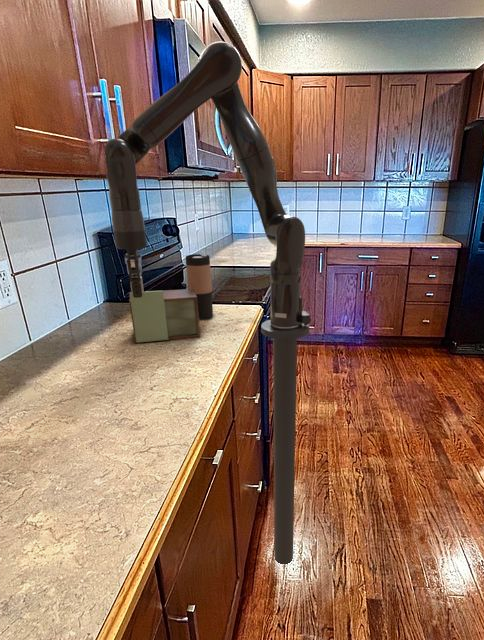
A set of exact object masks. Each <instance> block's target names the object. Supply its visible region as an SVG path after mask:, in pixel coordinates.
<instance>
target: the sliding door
mask: <svg viewBox="0 0 484 640" xmlns="http://www.w3.org/2000/svg"><path fill="white" fill-rule="evenodd" d="M132 278H133V277H132ZM140 279H141V290H142V297H139V298H134V297H133V291H132V283H130V282H129V285H130V292H129V300H131V307H132V314H133V321H134V328H135V335H136V342H141V343H148V342H147V341H152V342H158V341H157V340H162V341H169V340H168V331H167V322H166V313H165V304H164V295H163V291H164V290H148V291H144V283H143V276H142V275H141V276H140Z"/></svg>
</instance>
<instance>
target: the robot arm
mask: <svg viewBox="0 0 484 640" xmlns="http://www.w3.org/2000/svg"><path fill="white" fill-rule="evenodd" d="M242 71H243V62H242V58H241V56H240V52H239V51H238V50H237V48H236V47H234V45H232V44H231V43H229V42H226V41H215V42H212V43H210V44H209V45H207V46H206V48H205V49H203V50H202V52H201V54H200V55H199V57H198V60H197V63H196V64H195V65H194V67H193V68H192V69H191V70H190V71H189V73H188V74H186V75H185V77H183V78H182V79H181V80H180V81H179V82H178V83H177V84H175V85H174V86H173V87H172V88H170V89H169V90H168V91H166V92H165V93H164V94H162V95H161V96H160V97H159V98H157V99H156V100H155V101H153V102H152V103H151V104H150V105H149V106H148V107H146V108H145V109H144V110H143V111H141V113H139V114H138V116H136V117H135V118H134V119H133V120H132V122H131V123H130V124H129V127H127V128H126V129H125V130H124V131H123V132H122V133H120V134H119V135H118V136H117V137H118V138H117V137H116V138H117V139H116V138H111V139H109V140H107V141H106V142H107V143H106V142H105V143H106V146H105V155H106V164H107V169H108V174H107V175H106V174H105V177H106V180H107V185H108V194H109V202H110V209H111V222H112V230H113V231H112V232H113V236H114V243H115V248H116V249H118V250H125V251H126V254H124V263H125V264H126V271H127V274H128V276H129V284H130V283H132V291H133V297H134V298H139V297H142V290H141V279H140V276H142V274H143V271H142V270H143V268H142V262H143V261H142V260H143V259H142V254H140V253H139V251H138V250H142V249H145V248H147V246H148V242H147V234H146V226H145V218H144V215H143V210H142V202H141V195H140V189H139V187H138V179H137V178H138V177H137V167H136V166H137V165H138V164H139V163H140V162H141V160H142V159H144V158H145V156H147V154H148V153H149V152H150V151H152V150H154V148H157V146H159V145H160V144H161V143H162V142H164V141H165V140H166V139H167V138H168V137H169V136H170V135H171V134H172V133H174V131H176V130H177V129H178V128H179V126H181V125H182V124H183V123H184V122H185V121H186V120H187V119H188V118H190V116H191V115H192V114H193V113H194V112H195V111H196V110H198V109H199V108H200V107H201V106H203V105H204V104H205V103H207V102H208V101H209V100H211V102H212V103H213V105H214V107H215V109H216V111H217V113H218V115H219V118H220V120H221V122H222V125H223V128H224V132H225V134H226V136H227V139H228V142H229V144H230V147H231V150H232V152H233V155H234V157H235V159H236V162H237V165H238V168H239V170H240V171H241V174H242V176H243V178H244V180H245V183H246V185H247V187H248V189H249V192H250V195H251V197H252V198H253V201H254V203H255V205H256V208H257V211H258V215H259V217H260V220H261V224H262V227H263V230H264V234H265V236H266V239H267V240H268V241H269V243H271V244H272V245H273V246H275V247H276V250H275V252H276V253H275V258H274V260H272V261H270V265H269V266H270V267H269V275H270V276H269V277H270V280H269V282H270V283H269V284H270V289H269V291H270V320H271V322H270V326H271V327H272V328H274V329H278V330H293V329H297V328H299V327H302V324H304V325H305V326H306V325H308V324H309V325H310V323H311V322H312V318H311V315H310V314H309V312H307V311H305V310H303V300H304V299H303V297H302V296H301V287H302V285H301V283H302V281H301V280H302V265H303V264H304V260H305V248H306V229H305V225H304V222H303V221H302V220H301V219H300V218H299V217H297V216H295V215H289V214H287V213H286V211H285V208H284V207H283V204H282V201H281V199H280V197H279V193H278V192H279V191H278V181H277V180H278V179H277V178H278V177H277V176H278V175H277V167H276V162H275V158H274V157H273V154H272V151H271V148H270V145H269V143H268V141H267V138H266V136H265V134H264V132H263V131H262V129H261V127H260V126H259V125H258V123H257V121H256V120H255V118H254V117H253V115H252V114H251V112H250V110H249V109H248V106H247V104H246V102H245V100H244V98H243V97H244V96H243V94H242V91H241V88H240V84H239V80H240V78H241V75H242ZM132 277H133V278H132ZM132 291H131V292H132Z"/></svg>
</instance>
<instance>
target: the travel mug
mask: <svg viewBox="0 0 484 640" xmlns="http://www.w3.org/2000/svg"><path fill="white" fill-rule="evenodd" d="M185 267H186V268H185V269H186V279H187V281H186V282H187V289H194V292H195V294H196V296H197V303H198V316H199V321H201V320H209V319H212V318H213V317H214V316H213V315H214V307H213V286H212V274H211V273H212V271H211V261H210V255H209V254H206V255H202V254H200V253H194V254H188V255H186V256H185Z"/></svg>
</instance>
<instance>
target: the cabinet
mask: <svg viewBox="0 0 484 640" xmlns="http://www.w3.org/2000/svg"><path fill="white" fill-rule="evenodd" d="M163 295H164V304H165V313H166V322H167V331H168V340H167V341H171V340H172V341H173V340H183V339H192V338H193V339H195V338H200V337H201V331H200V320H199V316H198V303H197V296H196V294H195V292H194V289H188V288H183V289H168V290H167V289H166V290H163ZM128 302H129V309H130V316H131V323H132V329H133V336H134V337H133V338H134V343H135V344H141V343H142V342H136V335H135V328H134V321H133V314H132V307H131V300H130V299H129V301H128ZM161 341H163V340H157V341H156V342H161ZM149 342H150V343H151V342H153V341H147V342H146V343H149Z"/></svg>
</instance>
